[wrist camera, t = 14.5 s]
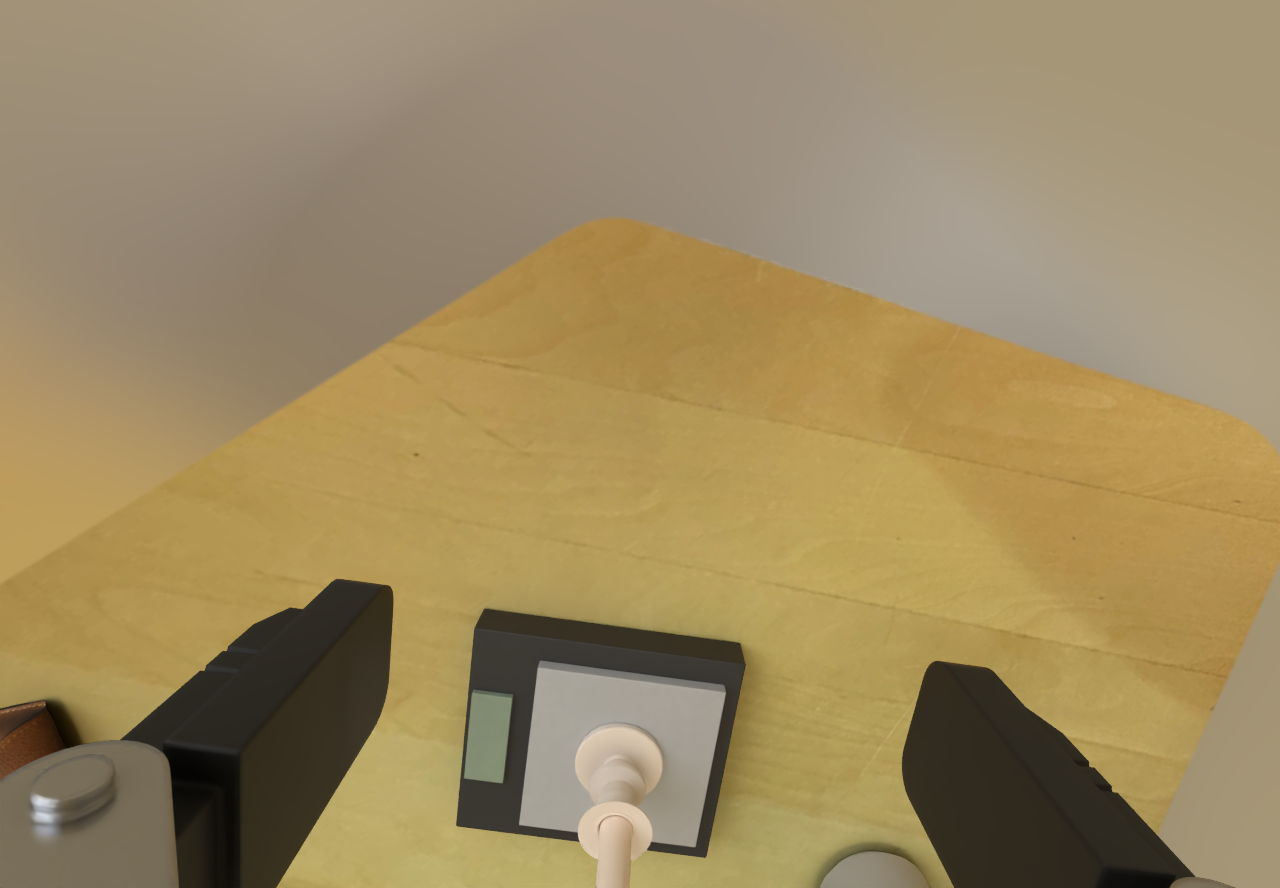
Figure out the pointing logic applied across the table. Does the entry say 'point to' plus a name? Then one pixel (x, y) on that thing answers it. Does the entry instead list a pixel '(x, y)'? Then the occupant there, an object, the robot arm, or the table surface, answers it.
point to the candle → (617, 797)
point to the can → (874, 872)
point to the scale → (593, 723)
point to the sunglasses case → (26, 735)
